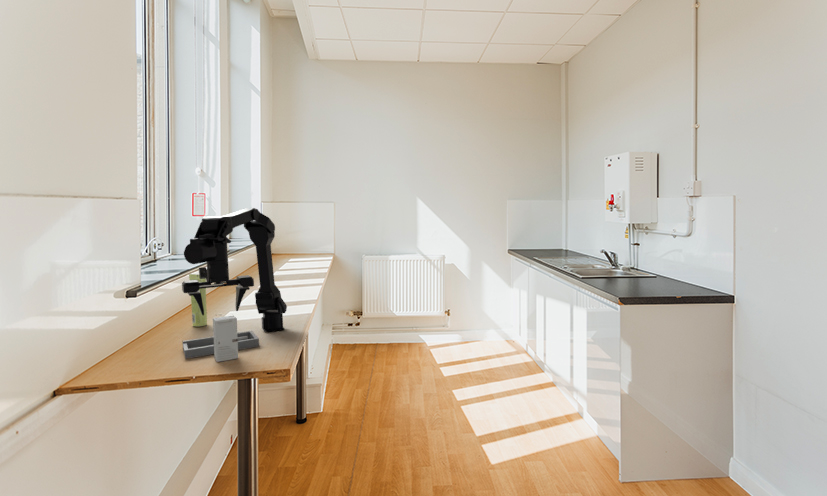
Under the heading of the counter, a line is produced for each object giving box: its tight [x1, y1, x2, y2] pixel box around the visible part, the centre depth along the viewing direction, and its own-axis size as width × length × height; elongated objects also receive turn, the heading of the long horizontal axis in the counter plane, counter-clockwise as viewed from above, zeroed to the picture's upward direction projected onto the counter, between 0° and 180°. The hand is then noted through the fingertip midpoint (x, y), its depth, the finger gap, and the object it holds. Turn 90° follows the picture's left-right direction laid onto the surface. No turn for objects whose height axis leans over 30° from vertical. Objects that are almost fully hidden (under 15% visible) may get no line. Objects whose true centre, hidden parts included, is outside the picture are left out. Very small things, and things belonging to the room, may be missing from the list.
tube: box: [188, 273, 208, 328], centre depth 169 cm, size 6×5×20 cm
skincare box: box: [212, 315, 239, 363], centre depth 131 cm, size 6×4×12 cm
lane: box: [182, 330, 260, 359], centre depth 142 cm, size 21×11×2 cm, turn 120°
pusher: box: [238, 336, 248, 341], centre depth 144 cm, size 8×8×3 cm
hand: (220, 313), depth 131 cm, fingers open, 9 cm apart
